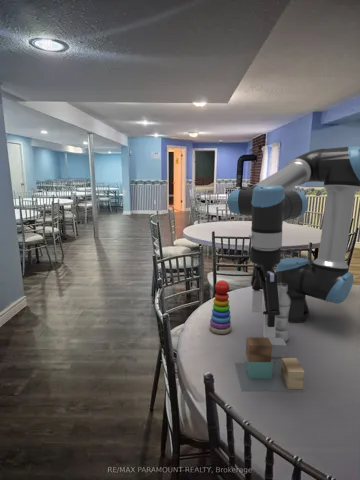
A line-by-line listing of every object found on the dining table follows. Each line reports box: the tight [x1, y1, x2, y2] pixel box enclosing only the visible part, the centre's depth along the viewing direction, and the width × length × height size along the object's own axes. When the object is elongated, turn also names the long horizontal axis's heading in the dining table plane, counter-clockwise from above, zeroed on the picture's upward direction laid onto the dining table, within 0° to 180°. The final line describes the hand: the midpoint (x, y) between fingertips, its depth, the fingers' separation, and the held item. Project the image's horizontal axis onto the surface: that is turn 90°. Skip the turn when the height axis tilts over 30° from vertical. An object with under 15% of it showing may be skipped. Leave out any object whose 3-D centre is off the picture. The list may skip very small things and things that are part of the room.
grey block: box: [269, 338, 288, 358], centre depth 93 cm, size 6×4×5 cm, turn 88°
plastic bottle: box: [275, 283, 291, 343], centre depth 100 cm, size 6×7×20 cm
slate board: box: [234, 362, 305, 393], centre depth 82 cm, size 16×12×1 cm
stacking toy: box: [209, 280, 232, 335], centre depth 107 cm, size 8×8×19 cm
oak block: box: [280, 357, 305, 390], centre depth 80 cm, size 6×4×5 cm, turn 178°
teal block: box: [246, 357, 274, 379], centre depth 83 cm, size 6×4×5 cm, turn 88°
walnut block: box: [245, 336, 272, 362], centre depth 82 cm, size 6×4×5 cm, turn 88°
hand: (262, 323), depth 81 cm, fingers open, 13 cm apart
